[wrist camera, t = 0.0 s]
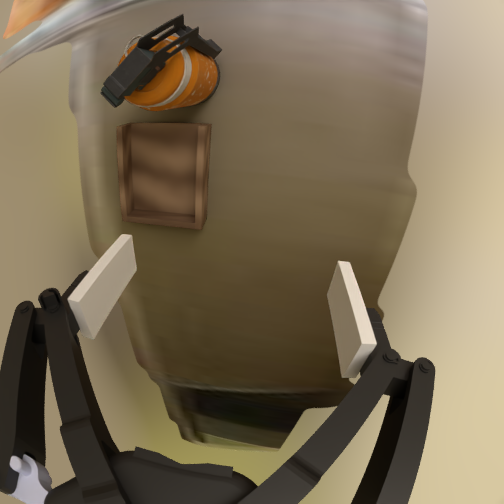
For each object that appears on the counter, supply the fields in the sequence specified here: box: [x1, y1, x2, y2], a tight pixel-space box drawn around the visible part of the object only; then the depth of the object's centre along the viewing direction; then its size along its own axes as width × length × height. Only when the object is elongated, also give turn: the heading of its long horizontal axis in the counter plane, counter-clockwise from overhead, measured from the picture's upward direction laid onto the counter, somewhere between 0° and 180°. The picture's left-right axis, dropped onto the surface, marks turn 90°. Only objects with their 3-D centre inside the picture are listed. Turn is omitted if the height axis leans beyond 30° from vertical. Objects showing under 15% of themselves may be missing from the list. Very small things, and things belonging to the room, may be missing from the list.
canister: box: [101, 14, 222, 111], centre depth 26 cm, size 9×11×20 cm
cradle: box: [117, 123, 212, 230], centre depth 41 cm, size 16×14×4 cm
